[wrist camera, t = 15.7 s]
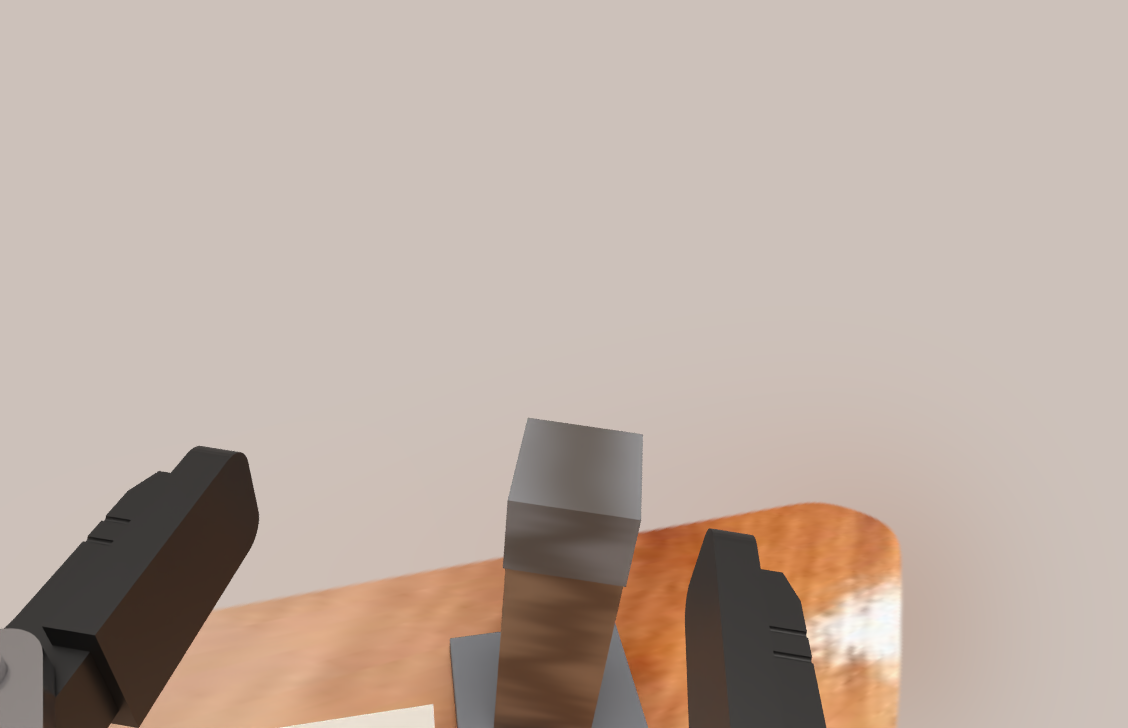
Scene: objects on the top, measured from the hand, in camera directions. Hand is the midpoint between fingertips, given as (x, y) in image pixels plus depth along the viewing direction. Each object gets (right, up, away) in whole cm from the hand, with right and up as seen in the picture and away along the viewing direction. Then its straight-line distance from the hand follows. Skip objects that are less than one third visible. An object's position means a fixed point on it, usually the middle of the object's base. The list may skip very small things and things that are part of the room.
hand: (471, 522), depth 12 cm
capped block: (+1, -15, +26) cm, 31 cm away
